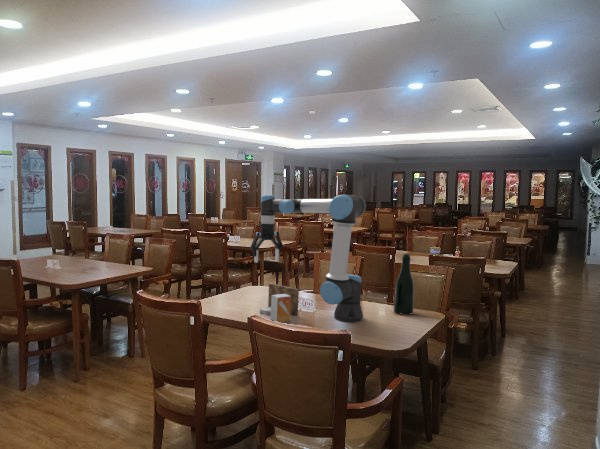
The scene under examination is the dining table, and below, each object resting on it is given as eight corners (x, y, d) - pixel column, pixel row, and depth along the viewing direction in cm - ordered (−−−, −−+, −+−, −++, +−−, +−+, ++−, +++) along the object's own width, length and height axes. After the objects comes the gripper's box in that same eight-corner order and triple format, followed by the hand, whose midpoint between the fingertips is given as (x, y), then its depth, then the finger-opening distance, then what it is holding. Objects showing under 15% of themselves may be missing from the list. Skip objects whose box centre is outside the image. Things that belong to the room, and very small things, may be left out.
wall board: (297, 315, 250) (298, 289, 248) (284, 319, 241) (285, 292, 240) (269, 308, 262) (270, 283, 261) (256, 311, 254) (256, 286, 252)
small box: (276, 323, 234) (277, 297, 233) (270, 320, 239) (271, 294, 238) (290, 321, 238) (291, 295, 237) (283, 318, 244) (284, 293, 243)
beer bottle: (390, 312, 261) (393, 253, 259) (400, 309, 269) (403, 251, 266) (407, 316, 254) (410, 255, 251) (416, 313, 262) (419, 254, 259)
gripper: (282, 222, 270) (281, 258, 271) (244, 223, 255) (243, 262, 257) (289, 223, 264) (289, 260, 265) (251, 224, 249) (250, 264, 251)
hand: (266, 261), depth 261 cm, fingers open, 13 cm apart
